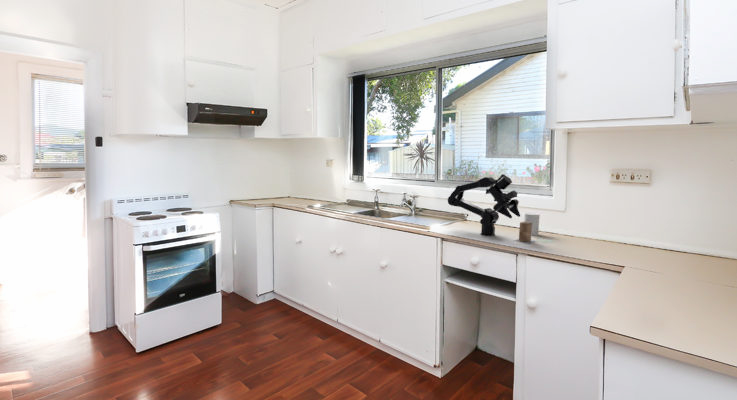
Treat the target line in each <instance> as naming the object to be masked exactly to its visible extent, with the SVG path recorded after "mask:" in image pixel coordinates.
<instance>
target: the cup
mask: <svg viewBox="0 0 737 400" xmlns="http://www.w3.org/2000/svg"><path fill="white" fill-rule="evenodd" d="M540 215H541V214H540V213H536V212H525V213H524V217H523V222H529V223H532V231H531V236H539V230H540V229H539V227H540V226H539V225H540Z"/></svg>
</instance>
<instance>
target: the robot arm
mask: <svg viewBox="0 0 737 400" xmlns="http://www.w3.org/2000/svg"><path fill="white" fill-rule="evenodd" d="M512 183H513V181H512V179H511V178H510V177H508V176H507V175H506V174H501V175H500V176H499V177H498V179H494V177H492V176H485V177H482V178H479V179H478V180H476V181H473V182H470V183H465V184H460V185H457V186H455V189H454V190H453V191H451V193H450V195H449V196H448V197H447V203H448V205H449V206H452V207H457V208H462V209H465V210H466V211H468V212H471V213H473V214H475V215H478V216H479V217H480V218H481V219H480V220H479V222H480V225H481V230H480V231H481V232H480V233H479V235H481V236H483V235H484V236H489V237H492V236H495V233H496V227H495V225H496V223H497V221H498V220H499V218H500V216H499V214H501V215H504V216H505V217H507V218H509V219H512V218H513V216H512V214H513V215H515V216H516V217H519V218H520V217H521V214H520V211H519V209H518V206H519V203H520V201H519V200H518V199H516V198H517V197H518V192H517V191H516V190H511V191H510V192H507V193H506V192H503V191H504V190H506V189H507V188H508V187H509V186H511V184H512ZM478 188H486V189H485V195H487V194H488V195H491V196H492V198H493V202H496V203H495V205H493V207H492V208H491V207H489V208H482V207H479V206H478V205H475V204H473V203H471V202H469V201H466V200H465V199H464V198H463V197H464V193H465V192H466V191H470V190H471V191H472V190H476V189H478ZM514 198H515V199H514ZM510 212H511V213H512V214H511V213H510Z"/></svg>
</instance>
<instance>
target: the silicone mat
mask: <svg viewBox="0 0 737 400" xmlns="http://www.w3.org/2000/svg"><path fill="white" fill-rule="evenodd" d="M513 242H517V243H521V244H526V245H530V244H534V243H536V242H537V243H538V241H537V240H536V241H535V240H531V241H530V242H522V241H519V238H518V239H515V240H513Z"/></svg>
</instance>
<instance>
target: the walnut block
mask: <svg viewBox="0 0 737 400" xmlns="http://www.w3.org/2000/svg"><path fill="white" fill-rule="evenodd" d="M531 231H532V223H529V222H524V221H521V222H519V231H518V232H519V234H518V239H519V241H522V242H530V241H532V235H531Z"/></svg>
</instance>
